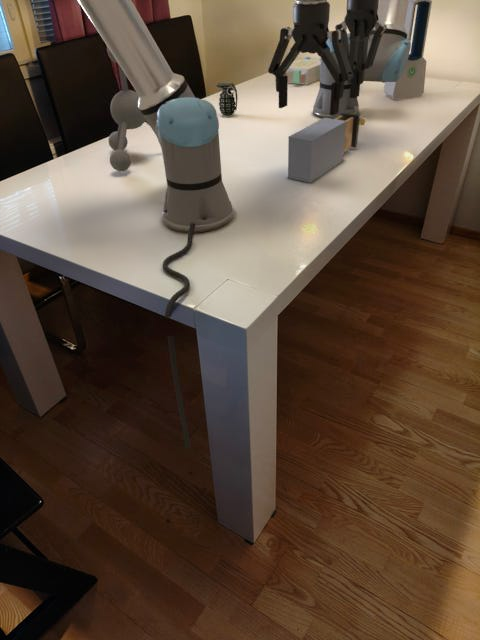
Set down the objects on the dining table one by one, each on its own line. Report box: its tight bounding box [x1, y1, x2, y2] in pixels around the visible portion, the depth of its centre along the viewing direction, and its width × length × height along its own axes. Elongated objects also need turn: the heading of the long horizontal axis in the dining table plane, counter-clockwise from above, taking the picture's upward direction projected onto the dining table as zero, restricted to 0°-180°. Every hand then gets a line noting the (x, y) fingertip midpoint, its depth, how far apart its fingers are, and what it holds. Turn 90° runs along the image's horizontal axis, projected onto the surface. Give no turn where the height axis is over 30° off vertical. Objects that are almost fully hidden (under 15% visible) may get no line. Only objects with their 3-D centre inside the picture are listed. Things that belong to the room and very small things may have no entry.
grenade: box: [215, 82, 238, 117], centre depth 166 cm, size 7×6×10 cm
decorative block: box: [274, 56, 321, 86], centre depth 206 cm, size 26×6×20 cm
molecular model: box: [106, 46, 150, 172], centre depth 131 cm, size 24×22×30 cm
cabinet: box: [287, 118, 346, 184], centre depth 123 cm, size 18×6×10 cm, turn 144°
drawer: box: [335, 112, 366, 153], centre depth 131 cm, size 22×5×8 cm, turn 144°
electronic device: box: [383, 0, 433, 100], centre depth 169 cm, size 12×8×30 cm, turn 105°
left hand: (307, 110), depth 113 cm, fingers open, 13 cm apart
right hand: (354, 96), depth 130 cm, fingers closed
